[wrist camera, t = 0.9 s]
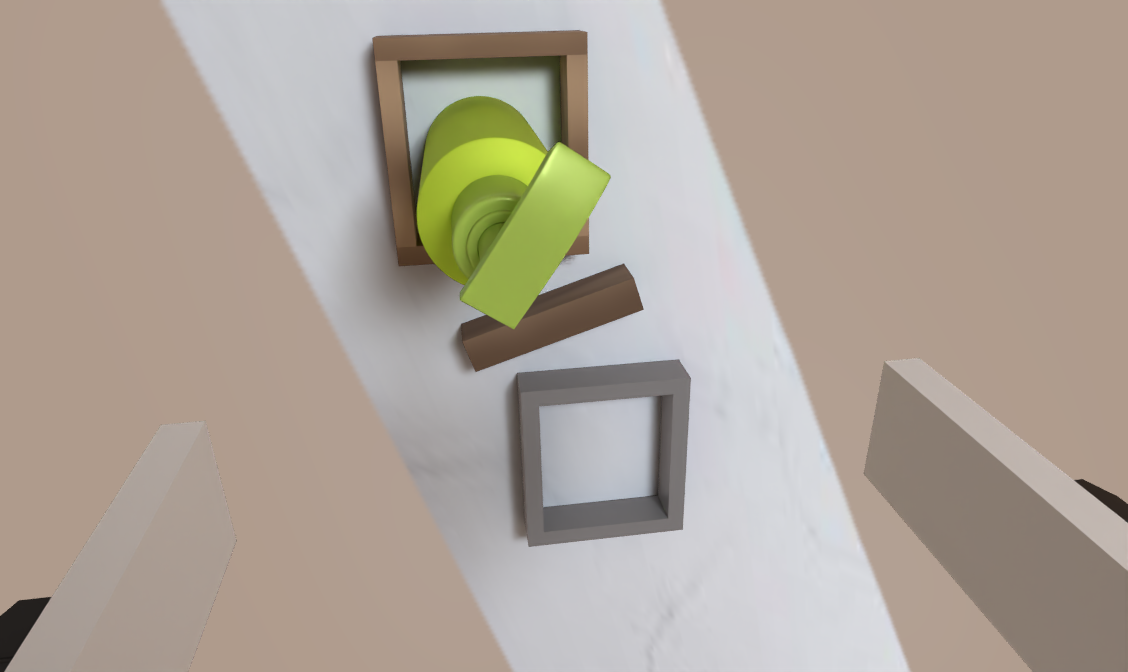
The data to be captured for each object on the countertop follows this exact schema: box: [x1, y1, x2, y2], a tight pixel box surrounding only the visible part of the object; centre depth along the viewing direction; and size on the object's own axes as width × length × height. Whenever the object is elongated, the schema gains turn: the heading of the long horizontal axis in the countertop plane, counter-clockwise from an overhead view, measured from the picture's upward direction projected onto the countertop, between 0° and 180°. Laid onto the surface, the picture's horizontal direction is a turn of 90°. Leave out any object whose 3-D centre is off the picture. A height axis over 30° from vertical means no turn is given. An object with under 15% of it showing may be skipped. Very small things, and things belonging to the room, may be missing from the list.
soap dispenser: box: [417, 96, 611, 329], centre depth 31 cm, size 6×7×20 cm
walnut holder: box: [373, 30, 589, 266], centre depth 39 cm, size 11×10×2 cm
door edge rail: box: [461, 264, 644, 372], centre depth 43 cm, size 2×10×2 cm, turn 108°
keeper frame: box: [517, 360, 691, 547], centre depth 47 cm, size 11×10×2 cm
